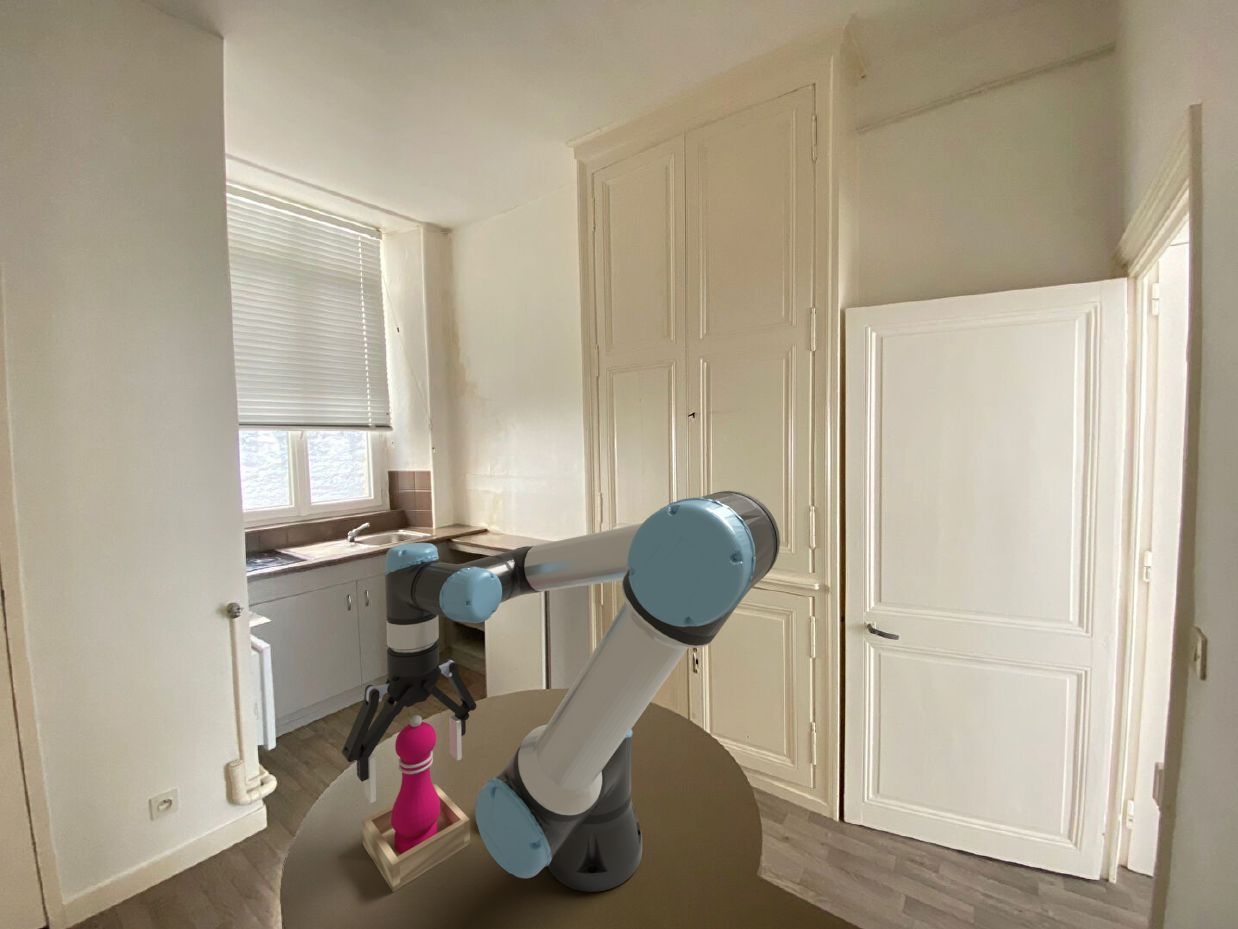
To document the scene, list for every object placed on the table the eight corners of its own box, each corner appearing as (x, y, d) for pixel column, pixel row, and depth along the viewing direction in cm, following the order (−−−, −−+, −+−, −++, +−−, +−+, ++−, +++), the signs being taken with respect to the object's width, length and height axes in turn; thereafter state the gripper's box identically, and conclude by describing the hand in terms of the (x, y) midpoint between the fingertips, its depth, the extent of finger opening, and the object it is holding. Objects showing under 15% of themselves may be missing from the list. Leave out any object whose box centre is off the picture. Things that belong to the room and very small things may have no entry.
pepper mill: (423, 862, 75) (423, 730, 74) (380, 854, 76) (380, 725, 76) (448, 826, 82) (449, 706, 81) (409, 819, 83) (409, 701, 83)
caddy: (470, 843, 79) (469, 819, 79) (393, 892, 71) (392, 865, 71) (435, 805, 88) (435, 783, 87) (362, 845, 79) (362, 820, 79)
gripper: (473, 617, 89) (474, 733, 90) (315, 661, 71) (319, 804, 72) (496, 628, 84) (497, 751, 85) (332, 678, 66) (335, 832, 67)
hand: (415, 775), depth 79 cm, fingers open, 13 cm apart
